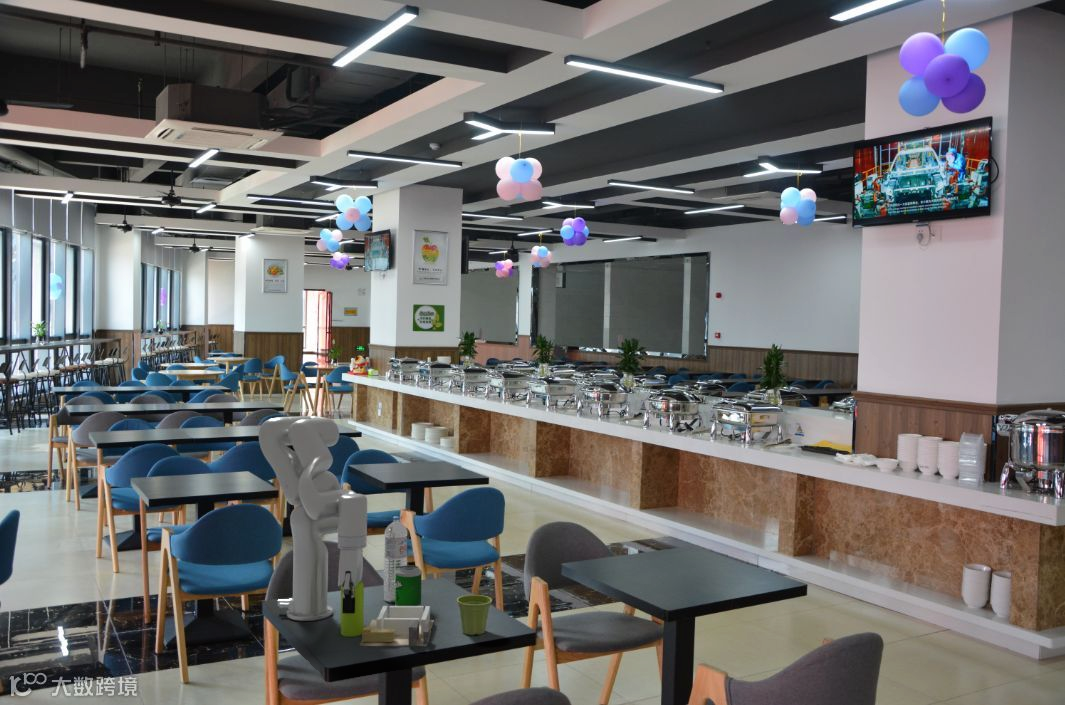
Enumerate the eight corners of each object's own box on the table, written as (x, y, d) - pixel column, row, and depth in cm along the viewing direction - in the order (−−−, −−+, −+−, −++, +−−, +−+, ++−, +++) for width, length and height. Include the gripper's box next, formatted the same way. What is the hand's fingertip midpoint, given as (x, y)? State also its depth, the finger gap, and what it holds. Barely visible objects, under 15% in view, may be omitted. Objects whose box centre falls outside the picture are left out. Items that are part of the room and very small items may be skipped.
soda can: (423, 605, 249) (424, 565, 249) (417, 613, 242) (418, 571, 242) (398, 604, 250) (399, 564, 250) (392, 612, 243) (392, 570, 243)
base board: (358, 647, 213) (359, 627, 213) (372, 621, 234) (372, 602, 234) (427, 647, 214) (427, 627, 214) (434, 621, 235) (435, 603, 235)
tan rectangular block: (362, 641, 215) (362, 628, 215) (363, 638, 218) (363, 625, 218) (393, 641, 215) (393, 628, 215) (394, 638, 218) (395, 625, 218)
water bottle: (399, 595, 260) (400, 514, 260) (410, 600, 254) (411, 517, 255) (379, 599, 255) (380, 516, 255) (390, 604, 250) (392, 520, 250)
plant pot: (468, 624, 233) (468, 592, 233) (497, 629, 229) (498, 597, 229) (449, 633, 225) (450, 601, 225) (479, 639, 220) (480, 606, 220)
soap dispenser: (333, 634, 222) (333, 559, 222) (352, 627, 228) (352, 553, 227) (349, 639, 219) (349, 563, 218) (368, 631, 225) (368, 557, 224)
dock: (376, 634, 222) (376, 619, 222) (383, 620, 234) (383, 605, 234) (425, 634, 222) (425, 619, 222) (429, 620, 234) (430, 606, 234)
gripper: (344, 534, 232) (343, 599, 232) (331, 548, 215) (330, 619, 215) (371, 534, 233) (370, 599, 233) (360, 548, 215) (359, 619, 215)
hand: (351, 608), depth 224 cm, fingers closed on soap dispenser, 6 cm apart
